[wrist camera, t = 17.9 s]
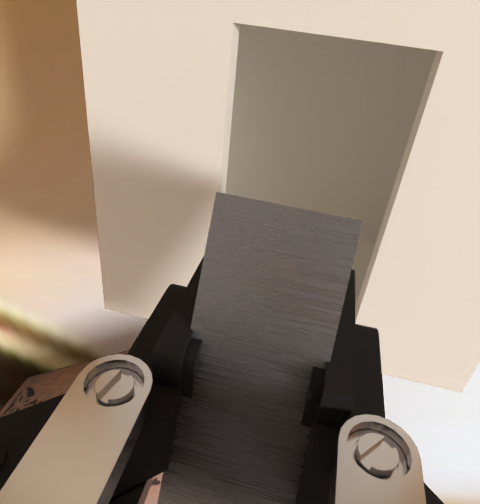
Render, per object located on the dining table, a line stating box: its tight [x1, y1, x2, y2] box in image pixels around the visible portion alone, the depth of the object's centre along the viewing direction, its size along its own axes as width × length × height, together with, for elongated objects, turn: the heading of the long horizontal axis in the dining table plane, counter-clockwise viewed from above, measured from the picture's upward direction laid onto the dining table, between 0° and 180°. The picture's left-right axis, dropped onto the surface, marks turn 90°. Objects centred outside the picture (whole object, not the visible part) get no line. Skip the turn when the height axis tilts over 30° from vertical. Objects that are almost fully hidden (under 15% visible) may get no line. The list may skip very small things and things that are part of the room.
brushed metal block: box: [157, 192, 363, 504], centre depth 10 cm, size 5×2×7 cm
